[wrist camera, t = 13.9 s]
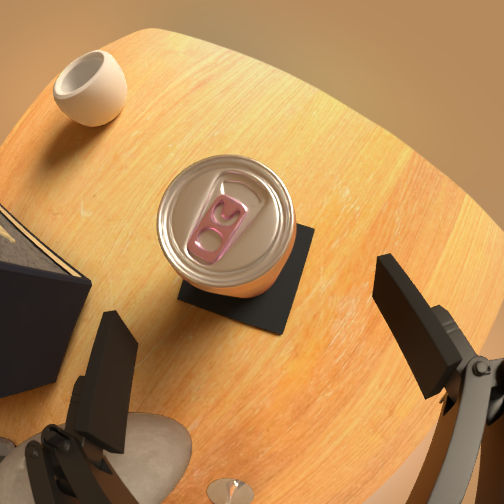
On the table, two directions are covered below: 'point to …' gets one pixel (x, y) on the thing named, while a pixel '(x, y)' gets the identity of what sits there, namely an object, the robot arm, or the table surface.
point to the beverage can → (227, 225)
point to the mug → (91, 89)
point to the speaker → (34, 308)
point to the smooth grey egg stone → (120, 461)
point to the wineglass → (230, 492)
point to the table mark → (267, 304)
